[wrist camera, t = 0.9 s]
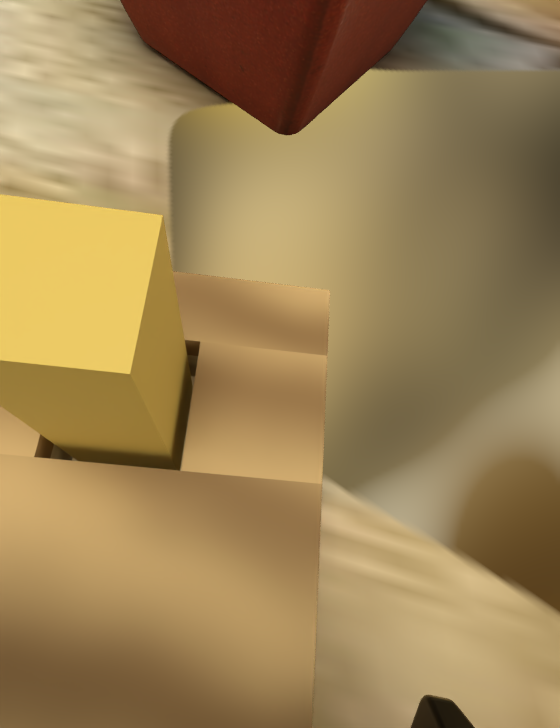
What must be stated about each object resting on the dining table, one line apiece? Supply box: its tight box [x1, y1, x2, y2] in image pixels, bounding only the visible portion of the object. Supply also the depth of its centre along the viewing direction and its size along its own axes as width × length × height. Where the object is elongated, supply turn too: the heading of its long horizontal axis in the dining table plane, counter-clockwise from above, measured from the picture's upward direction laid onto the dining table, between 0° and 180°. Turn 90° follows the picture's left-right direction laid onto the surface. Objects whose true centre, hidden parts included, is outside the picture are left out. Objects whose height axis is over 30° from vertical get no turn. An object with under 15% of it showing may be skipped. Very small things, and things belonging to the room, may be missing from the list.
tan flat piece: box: [0, 271, 330, 728], centre depth 18 cm, size 22×16×5 cm
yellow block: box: [0, 194, 193, 471], centre depth 16 cm, size 4×4×12 cm
